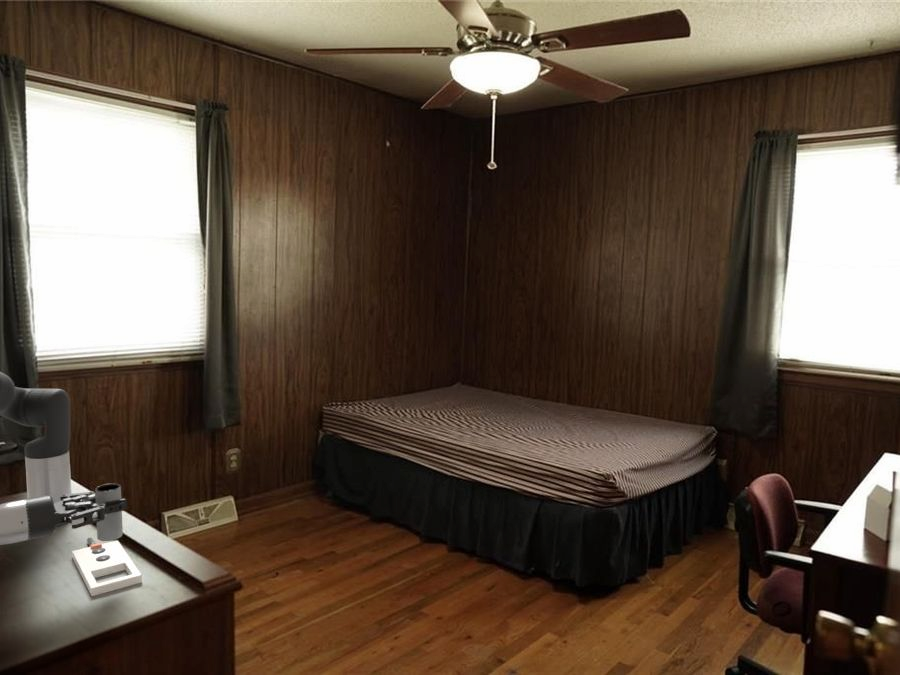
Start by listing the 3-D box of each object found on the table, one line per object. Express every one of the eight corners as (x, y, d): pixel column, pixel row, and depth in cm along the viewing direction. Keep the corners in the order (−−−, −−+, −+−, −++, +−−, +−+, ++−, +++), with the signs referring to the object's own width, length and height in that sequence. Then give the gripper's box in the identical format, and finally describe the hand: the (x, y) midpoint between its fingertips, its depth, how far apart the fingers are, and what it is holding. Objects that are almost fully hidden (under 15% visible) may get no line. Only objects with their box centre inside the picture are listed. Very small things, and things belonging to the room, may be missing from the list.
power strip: (67, 547, 145) (66, 538, 145) (111, 537, 151) (111, 528, 151) (91, 596, 124) (91, 585, 124) (141, 582, 130) (141, 572, 130)
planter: (127, 534, 131) (126, 485, 130) (109, 543, 127) (107, 492, 126) (110, 530, 133) (108, 482, 132) (92, 539, 129) (89, 489, 127)
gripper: (27, 512, 114) (131, 492, 125) (17, 489, 125) (114, 472, 136) (29, 553, 115) (133, 529, 126) (20, 526, 126) (116, 506, 137)
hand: (123, 500), depth 131 cm, fingers closed on planter, 4 cm apart
